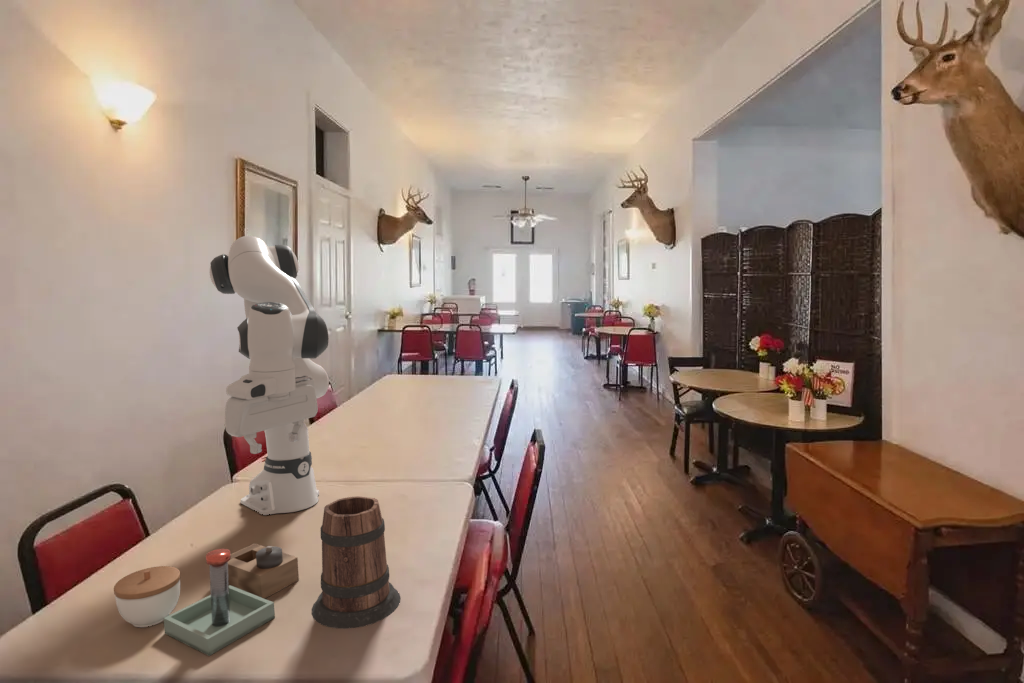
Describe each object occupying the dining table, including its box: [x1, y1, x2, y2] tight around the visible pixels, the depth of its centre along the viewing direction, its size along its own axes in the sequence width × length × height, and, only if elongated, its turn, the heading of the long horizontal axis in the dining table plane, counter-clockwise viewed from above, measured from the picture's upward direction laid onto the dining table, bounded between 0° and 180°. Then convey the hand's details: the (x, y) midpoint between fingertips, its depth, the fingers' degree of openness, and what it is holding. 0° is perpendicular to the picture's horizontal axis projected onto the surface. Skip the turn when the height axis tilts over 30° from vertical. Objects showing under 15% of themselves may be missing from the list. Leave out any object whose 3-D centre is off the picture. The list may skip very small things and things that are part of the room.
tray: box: [163, 585, 276, 657], centre depth 112 cm, size 13×13×3 cm
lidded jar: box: [113, 565, 181, 628], centre depth 115 cm, size 11×11×9 cm
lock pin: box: [205, 548, 232, 627], centre depth 111 cm, size 4×4×13 cm
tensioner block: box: [228, 543, 300, 599], centre depth 128 cm, size 14×9×8 cm, turn 59°
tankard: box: [311, 496, 402, 630], centre depth 121 cm, size 24×17×20 cm
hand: (275, 446), depth 128 cm, fingers open, 8 cm apart
